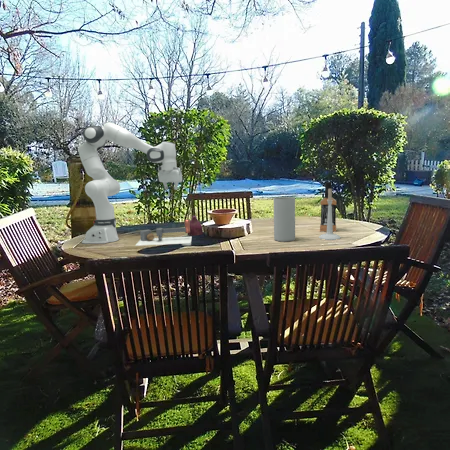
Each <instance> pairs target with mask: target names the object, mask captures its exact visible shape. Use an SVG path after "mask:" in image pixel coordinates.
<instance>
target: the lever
mask: <svg viewBox="0 0 450 450" xmlns="http://www.w3.org/2000/svg"><path fill="white" fill-rule="evenodd" d="M190 220H191V219H184V227H172V228H171V227H170V228H163V227H157V228H155V231H156V236H157V237H158V236H163V234H171V233H185V234H187V233H190Z"/></svg>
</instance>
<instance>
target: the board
mask: <svg viewBox="0 0 450 450" xmlns="http://www.w3.org/2000/svg"><path fill="white" fill-rule="evenodd" d="M139 233H140V234H139V235H140V239H139V240H138V242H136V244H135V247H136V246H156V245H157V246H158V245H161V246H162V245H179V244H181V246H192V238H193V237H192V235H190V236H175V237H174V236H171V237H162V236H163V235H162V236H157V237H154V239H153V240H152V241H149V240H148V239H147V235H148V234H150V233H151V234H152V230H151V229H144V230H140V232H139Z"/></svg>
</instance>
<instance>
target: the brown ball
mask: <svg viewBox="0 0 450 450" xmlns="http://www.w3.org/2000/svg"><path fill="white" fill-rule="evenodd" d="M154 238H155V235H154V234H153V233H152V232H151V233H150V234H148V235H147V239H148V240H149V241H152V240H153V239H154Z"/></svg>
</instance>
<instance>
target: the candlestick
mask: <svg viewBox="0 0 450 450" xmlns="http://www.w3.org/2000/svg"><path fill="white" fill-rule="evenodd" d="M332 189H333V188H331V189H328V200H327V201H328V218H327V232H326V233H323V234H320V235H319V236H318V239H319V238H320V240H322V239H325V240H324V241H337V240H336V239H339V240H341V239H342V238H341V236H340V235H339V234H336V233H334V232H333V227H332V206H331V204H332V201H333V200H332V198H333V190H332ZM340 238H341V239H340Z"/></svg>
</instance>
